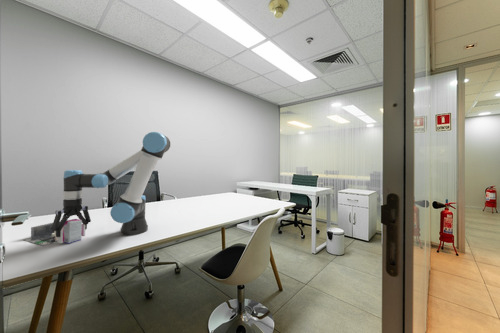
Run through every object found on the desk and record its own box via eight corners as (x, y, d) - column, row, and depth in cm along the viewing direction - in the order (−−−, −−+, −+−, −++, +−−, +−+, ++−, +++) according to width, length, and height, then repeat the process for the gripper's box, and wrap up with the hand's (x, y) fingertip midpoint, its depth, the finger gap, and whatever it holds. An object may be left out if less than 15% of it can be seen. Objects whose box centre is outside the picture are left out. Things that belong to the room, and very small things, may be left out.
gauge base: (78, 235, 115) (78, 225, 115) (43, 245, 100) (43, 234, 100) (58, 231, 121) (58, 221, 121) (23, 240, 106) (23, 229, 106)
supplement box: (81, 240, 109) (82, 219, 109) (69, 244, 103) (69, 222, 103) (74, 238, 111) (75, 218, 110) (62, 242, 105) (62, 221, 105)
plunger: (73, 235, 113) (73, 222, 113) (42, 244, 100) (42, 229, 100) (64, 233, 115) (64, 220, 115) (33, 242, 103) (33, 227, 103)
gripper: (90, 194, 118) (89, 231, 119) (41, 201, 97) (40, 245, 98) (99, 195, 116) (98, 233, 116) (50, 202, 95) (49, 248, 95)
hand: (72, 239), depth 107 cm, fingers open, 10 cm apart
